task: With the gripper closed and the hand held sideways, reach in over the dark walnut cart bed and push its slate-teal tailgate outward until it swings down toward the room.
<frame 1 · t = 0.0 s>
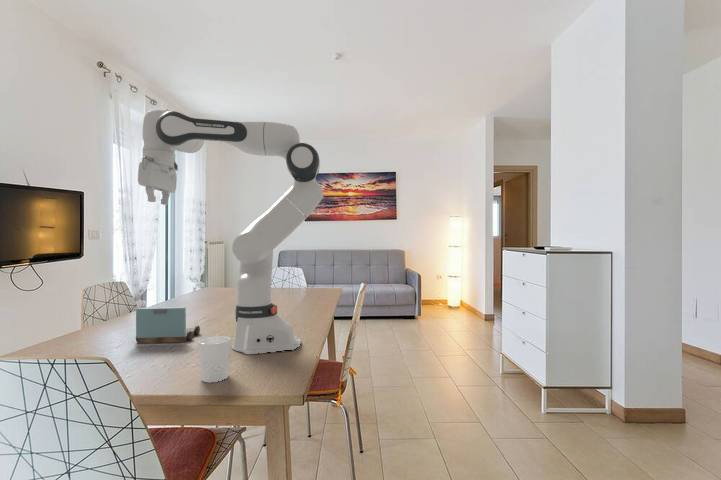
hand: (158, 203, 122), 48 cm above the table, tool pointing down, fingers open, 8 cm apart
white cup: (215, 378, 97), on the table
tailgate: (160, 322, 129), point 7 cm above the table, hinge at 0.0°
cart bed: (169, 337, 136), on the table
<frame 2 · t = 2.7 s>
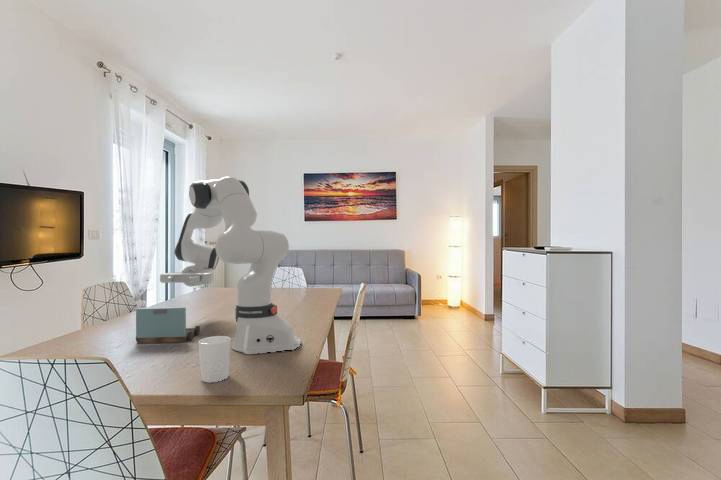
hand: (180, 279, 147), 20 cm above the table, tool horizontal, fingers open, 7 cm apart
nothing on the table moved.
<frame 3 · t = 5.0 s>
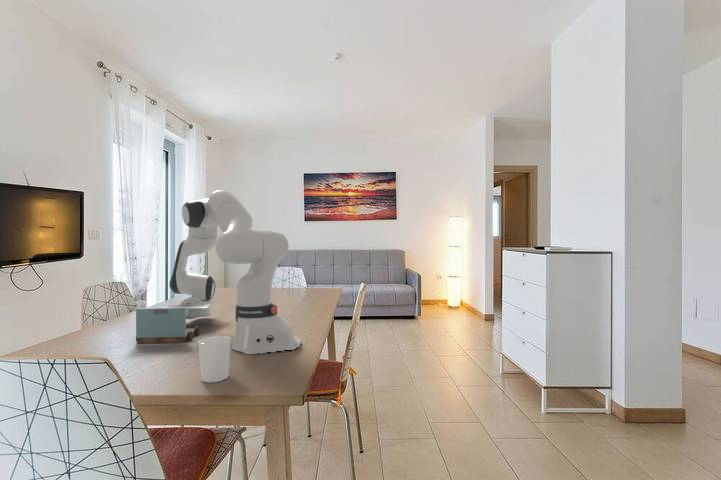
hand: (178, 314, 144), 7 cm above the table, tool horizontal, fingers closed
nothing on the table moved.
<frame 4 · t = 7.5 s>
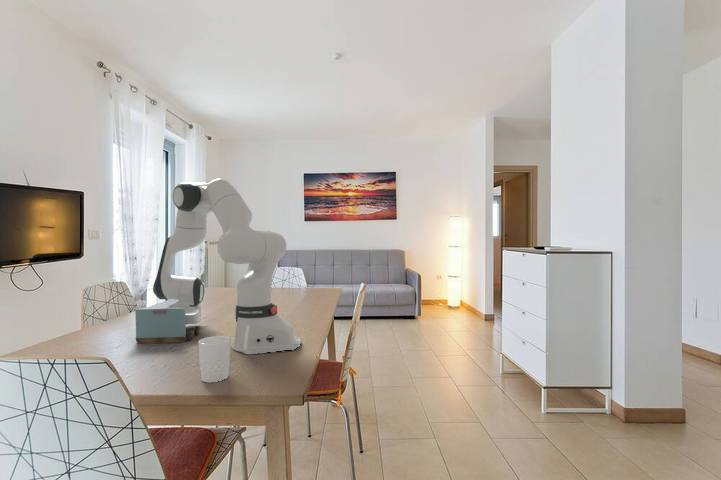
hand: (161, 323, 130), 7 cm above the table, tool horizontal, fingers closed, pressing on tailgate
tailgate: (160, 323, 129), point 7 cm above the table, hinge at 2.5°, touching gripper
everything else where it was.
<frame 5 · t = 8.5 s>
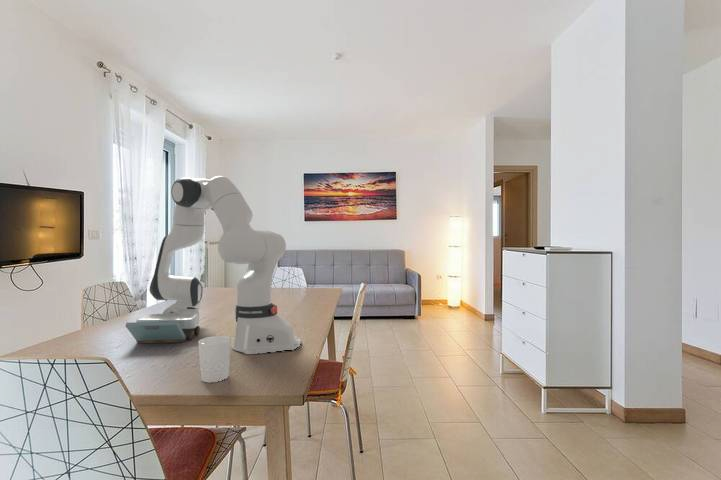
hand: (158, 329, 127), 5 cm above the table, tool horizontal, fingers closed, pressing on tailgate
tailgate: (156, 332, 126), point 5 cm above the table, hinge at 46.6°, touching gripper
everything else where it was.
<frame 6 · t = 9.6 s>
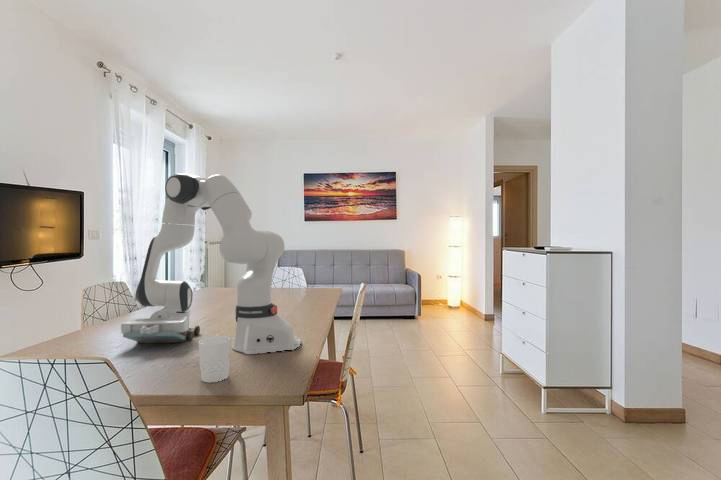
hand: (144, 331, 117), 7 cm above the table, tool horizontal, fingers closed, pressing on tailgate
tailgate: (155, 337, 125), point 3 cm above the table, hinge at 66.2°, touching gripper
everything else where it was.
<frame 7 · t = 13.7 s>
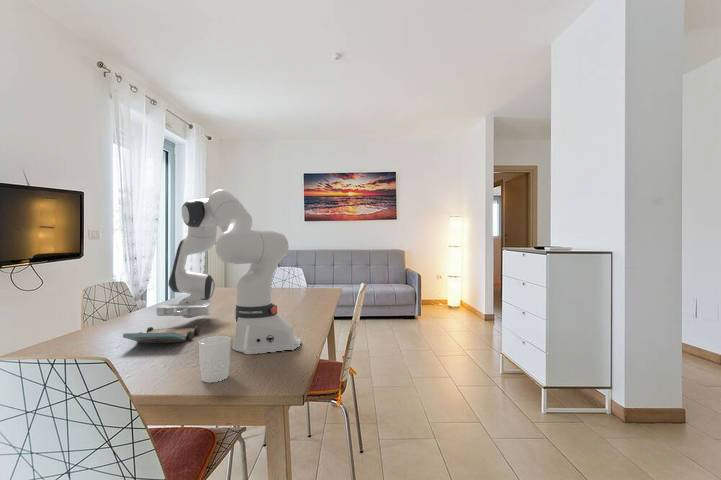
hand: (177, 313, 144), 7 cm above the table, tool horizontal, fingers closed
tailgate: (155, 337, 125), point 3 cm above the table, hinge at 67.1°
everything else where it was.
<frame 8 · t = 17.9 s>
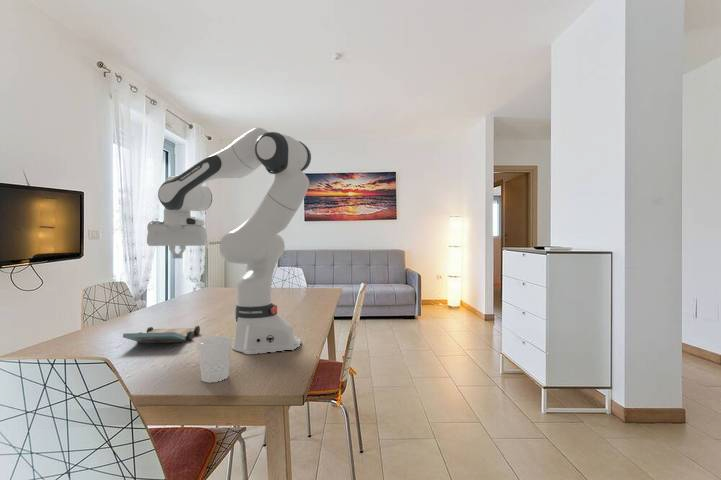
hand: (177, 258, 136), 29 cm above the table, tool pointing down, fingers closed
nothing on the table moved.
at the end: tailgate at +67° (first picture: +0°); white cup moved 0.2 cm from its start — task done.
